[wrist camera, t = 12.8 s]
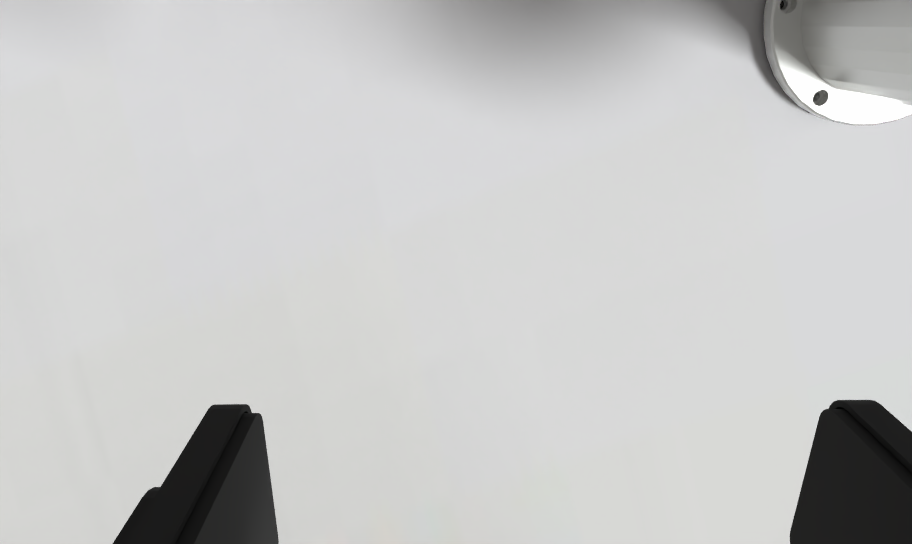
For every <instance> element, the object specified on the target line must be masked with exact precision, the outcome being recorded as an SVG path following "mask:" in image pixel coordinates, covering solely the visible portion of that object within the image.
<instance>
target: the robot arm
mask: <svg viewBox="0 0 912 544" xmlns="http://www.w3.org/2000/svg"><path fill="white" fill-rule="evenodd" d="M783 2H784V6H783V8H782V9H780V3H781V0H766V5H765V10H764V32H763V35H764V42H765V48H766V55H767V58H768V61H769V64H770V66H771V69H772V72H773V75H774V77H775V78H776V80H777V81H778V83H779V84H780V86H781V88H782V89H783V91H784V92H785V93H786V94H787V95H788V96H789V97H790V98H791V99H792V100H793V101H794V102H795V103H796V104H797V105H798V106H800V107H801V108H803V109H805V110H806V111H808V112H810V113H811V114H813V115H815V116H818V117H821V118H824V119H827V120H830V121H833V122H838V123H843V124H848V125H876V124H882V123H887V122H892V121H896V120H899V119H901V118H904V117H907V116H909V115H912V0H783ZM815 93H816V96H815V98H814V99H813V96H814V94H815ZM113 544H278V532H277V525H276V517H275V509H274V502H273V494H272V487H271V479H270V472H269V464H268V456H267V449H266V441H265V434H264V426H263V420H262V416H261V414H259V413H252V412H251V409H250V407H249V406H248V405H247V404H234V405H212V406H211V407H210V408H209V409H208V411H207V412H206V414H205V416H204V417H203V419H202V421H201V422H200V424H199V425H198V427H197V429H196V430H195V432H194V434H193V435H192V437H191V438H190V440H189V442H188V443H187V445H186V447H185V448H184V450H183V452H182V453H181V455H180V456H179V458H178V460H177V461H176V463H175V465H174V466H173V468H172V469H171V471H170V473H169V474H168V476H167V478H166V479H165V481H164V482H163V484H162V486H161V487H154V488H152V489H150V490H148V491H147V493H146V494H145V495H144V496H143V497H142V499H141V500H140V502H139V503H138V505H137V507H136V508H135V510H134V511H133V513H132V514H131V516H130V518H129V519H128V521H127V522H126V524H125V525H124V527H123V528H122V530H121V532H120V533H119V535H118V536H117V538H116V539H115V541H114V543H113ZM790 544H912V432H911V431H910V430H909V429H908V428H907V427H906V426H904V425H903V424H902V423H901V422H900V421H899V420H898V419H896V418H895V417H894V416H893V415H892V414H891V413H890V412H888V411H887V410H886V409H885V408H884V407H883V406H882V405H880V404H879V403H877V402H876V401H872V400H837V401H835V402H833V403H832V404H831V405H830V407H829V409H826V410H824V411H823V412H822V413H821V415H820V417H819V421H818V425H817V429H816V433H815V437H814V441H813V445H812V449H811V452H810V456H809V460H808V464H807V468H806V472H805V476H804V480H803V484H802V488H801V492H800V496H799V500H798V504H797V508H796V511H795V515H794V519H793V523H792V527H791V531H790Z"/></svg>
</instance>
